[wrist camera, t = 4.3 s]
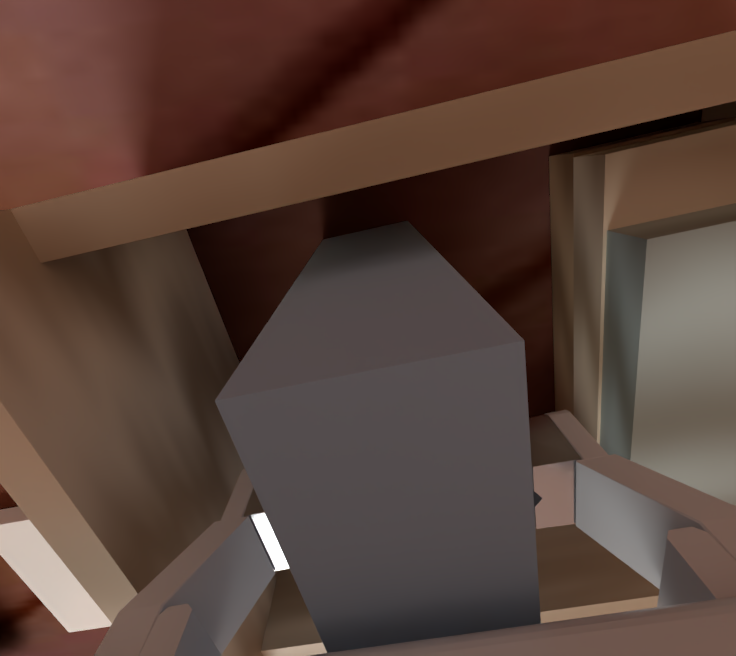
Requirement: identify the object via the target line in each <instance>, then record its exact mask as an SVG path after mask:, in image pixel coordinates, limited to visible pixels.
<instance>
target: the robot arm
mask: <svg viewBox="0 0 736 656" xmlns="http://www.w3.org/2000/svg"><path fill="white" fill-rule="evenodd" d="M529 429H530V446H531V463H532V480H533V497H534V514H535V527H536V529H539V528H547V527H555V526H563V525H571V524H576V526H577V527H578V528H579V529H581V530H582V531H583V532H584V533H586V534H587V535H588V536H590V537H591V538H592V539H594V540H595V541H596V542H598V543H599V544H600V545H602V546H603V547H604V548H606V549H607V550H608V551H610V552H611V553H612V554H614V555H615V556H616V557H617V558H619V559H620V560H621V561H623V562H624V563H625V564H627V565H628V566H629V567H631V568H632V569H633V570H635V571H636V572H637V573H639V574H640V575H641V576H643V577H644V578H645V579H647V580H648V581H649V582H650V583H652V584H653V585H654V586H656V587H657V588H658V589H659V596H658V603H657V607H655V608H648V609H641V610H633V611H626V612H619V613H612V614H605V615H597V616H590V617H583V618H576V619H569V620H561V621H554V622H547V623H540V624H533V625H526V626H518V627H511V628H504V629H497V630H490V631H483V632H475V633H468V634H461V635H454V636H447V637H439V638H432V639H425V640H418V641H410V642H403V643H396V644H388V645H381V646H374V647H367V648H359V649H352V650H345V651H338V652H330V653H323V654H316V655H309V656H736V506H734V505H732V504H729V503H727V502H725V501H723V500H720V499H718V498H716V497H713V496H711V495H709V494H706V493H704V492H702V491H699V490H697V489H695V488H693V487H690V486H688V485H686V484H683V483H681V482H679V481H676V480H674V479H672V478H669V477H667V476H665V475H663V474H660V473H658V472H656V471H653V470H651V469H649V468H646V467H644V466H642V465H639V464H637V463H635V462H633V461H630V460H628V459H626V458H623V457H621V456H619V455H616V454H613V455H608V454H607V453H606V452H605V450H604V449H603V448H602V447H601V446H600V445H599V444H598V443H597V442H596V440H595V439H594V438H593V437H592V436H591V435H590V434H589V433H588V431H587V430H586V429H585V428H584V427H583V426H582V425H581V424H580V422H579V421H578V420H577V419H576V418H575V417H574V416H573V415H572V413H571V412H570V411H568V410H561V411H556V412H551V413H546V414H545V415H538V416H533V417H529ZM288 568H289V566H288V564H287V562H286V559H285V557H284V555H283V553H282V550H281V548H280V546H279V544H278V541H277V539H276V537H275V535H274V533H273V530H272V528H271V526H270V524H269V521H268V519H267V517H266V515H265V512H264V510H263V508H262V506H261V503H260V501H259V499H258V497H257V495H256V492H255V490H254V488H253V486H252V483H251V481H250V479H249V477H248V474H247V472H246V470H245V468H244V469H243V470H242V471H241V473H240V476H239V478H238V481H237V483H236V485H235V488H234V490H233V492H232V495H231V497H230V499H229V502H228V504H227V506H226V509H225V511H224V514H223V516H222V518H221V521H217V522H214V523H213V524H212V525H211V526H210V527H209V528H207V529H206V530H205V531H204V532H203V533H202V534H201V535H200V536H199V537H198V538H197V539H196V540H195V541H194V542H193V543H192V544H190V545H189V546H188V547H187V548H186V549H185V550H184V551H183V552H182V553H181V554H180V555H179V556H178V557H177V558H176V559H175V560H173V561H172V562H171V563H170V564H169V565H168V566H167V567H166V568H165V569H164V570H163V571H162V572H161V573H160V574H159V575H158V576H156V577H155V578H154V579H153V580H152V581H151V582H150V583H149V584H148V585H147V586H146V587H145V588H144V589H143V590H142V591H141V592H139V593H138V594H137V595H136V596H135V597H134V598H133V599H132V600H131V601H130V602H129V603H128V604H127V605H126V606H125V607H124V608H122V609H121V610H120V611H119V612H118V614H117V616H116V618H115V620H114V621H113V623H112V625H111V627H110V628H109V630H108V632H107V634H106V635H105V637H104V639H103V641H102V642H101V644H100V646H99V648H98V649H97V651H96V653H95V655H94V656H222V653H223V652H224V650H225V648H226V647H227V645H228V644H229V642H230V641H231V639H232V638H233V636H234V635H235V633H236V632H237V630H238V629H239V627H240V626H241V624H242V623H243V621H244V620H245V618H246V617H247V615H248V614H249V612H250V611H251V609H252V608H253V606H254V605H255V603H256V602H257V600H258V599H259V597H260V596H261V594H262V593H263V591H264V590H265V588H266V587H267V585H268V584H269V582H270V580H271V579H272V577H273V576H274V574H275V571H277V570H283V569H288Z"/></svg>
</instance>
